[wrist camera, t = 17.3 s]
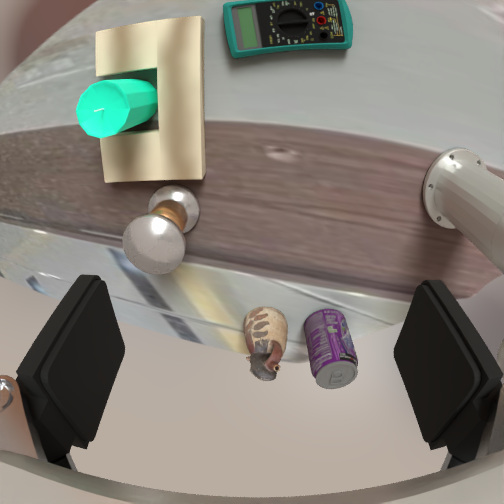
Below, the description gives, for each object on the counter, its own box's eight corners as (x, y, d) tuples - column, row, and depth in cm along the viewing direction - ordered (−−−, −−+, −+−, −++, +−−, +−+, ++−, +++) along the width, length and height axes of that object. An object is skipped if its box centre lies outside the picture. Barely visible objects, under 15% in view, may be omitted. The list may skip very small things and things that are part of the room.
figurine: (235, 323, 53) (230, 379, 43) (263, 298, 50) (265, 355, 40) (266, 343, 55) (268, 398, 45) (295, 320, 53) (303, 376, 42)
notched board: (204, 20, 31) (200, 15, 28) (205, 172, 41) (202, 179, 38) (106, 34, 31) (95, 31, 28) (113, 175, 41) (105, 182, 38)
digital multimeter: (351, 50, 33) (358, 47, 30) (231, 60, 34) (229, 58, 31) (342, -2, 29) (348, -7, 26) (222, 7, 30) (220, 2, 28)
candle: (114, 123, 37) (69, 141, 27) (117, 79, 34) (70, 82, 24) (157, 124, 37) (121, 142, 27) (161, 79, 34) (125, 79, 24)
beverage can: (343, 334, 54) (357, 387, 44) (303, 338, 55) (311, 393, 44) (346, 303, 51) (363, 357, 41) (303, 308, 51) (313, 364, 41)
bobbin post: (198, 183, 41) (181, 216, 32) (201, 231, 45) (186, 275, 35) (148, 184, 41) (117, 217, 32) (153, 231, 45) (128, 273, 35)
